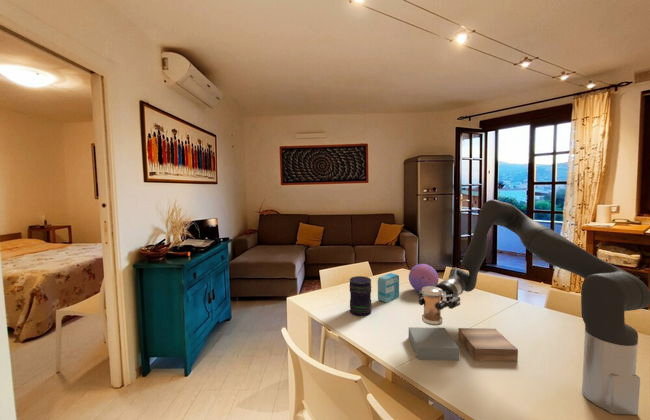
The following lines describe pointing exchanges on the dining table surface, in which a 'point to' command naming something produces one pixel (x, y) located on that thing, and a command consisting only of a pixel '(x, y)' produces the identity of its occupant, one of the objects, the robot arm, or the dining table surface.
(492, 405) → the dining table surface
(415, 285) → the decorative ball
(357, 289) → the dark blue cylinder
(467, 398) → the dining table surface
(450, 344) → the slate stand
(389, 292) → the data package
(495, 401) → the dining table surface
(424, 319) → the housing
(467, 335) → the walnut stand
